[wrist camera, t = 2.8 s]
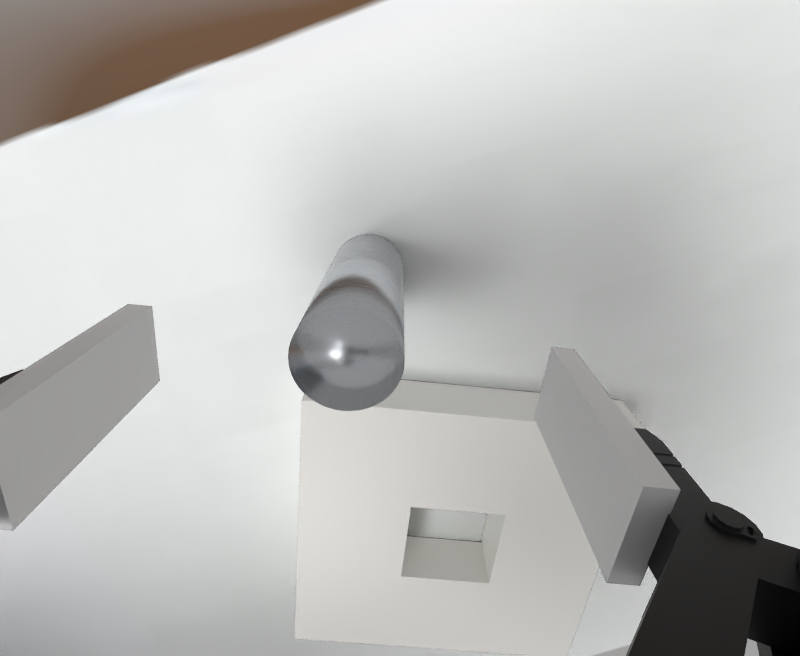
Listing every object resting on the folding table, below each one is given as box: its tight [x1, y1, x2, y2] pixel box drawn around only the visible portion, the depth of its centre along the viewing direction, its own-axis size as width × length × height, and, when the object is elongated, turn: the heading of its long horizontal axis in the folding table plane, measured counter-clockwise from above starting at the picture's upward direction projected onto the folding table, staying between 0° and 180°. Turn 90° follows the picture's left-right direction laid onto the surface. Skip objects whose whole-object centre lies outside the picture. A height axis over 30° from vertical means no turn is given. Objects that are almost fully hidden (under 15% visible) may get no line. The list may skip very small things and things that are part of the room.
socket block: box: [295, 380, 645, 656], centre depth 33 cm, size 20×20×4 cm
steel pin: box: [288, 234, 404, 411], centre depth 22 cm, size 4×4×12 cm
